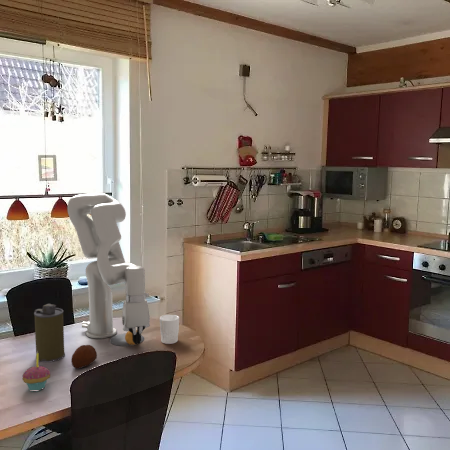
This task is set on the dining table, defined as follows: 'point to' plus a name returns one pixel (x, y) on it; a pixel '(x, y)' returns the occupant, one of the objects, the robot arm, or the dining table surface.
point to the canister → (49, 333)
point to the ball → (129, 338)
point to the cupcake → (36, 376)
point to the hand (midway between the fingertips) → (136, 343)
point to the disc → (121, 340)
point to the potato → (83, 356)
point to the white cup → (169, 328)
